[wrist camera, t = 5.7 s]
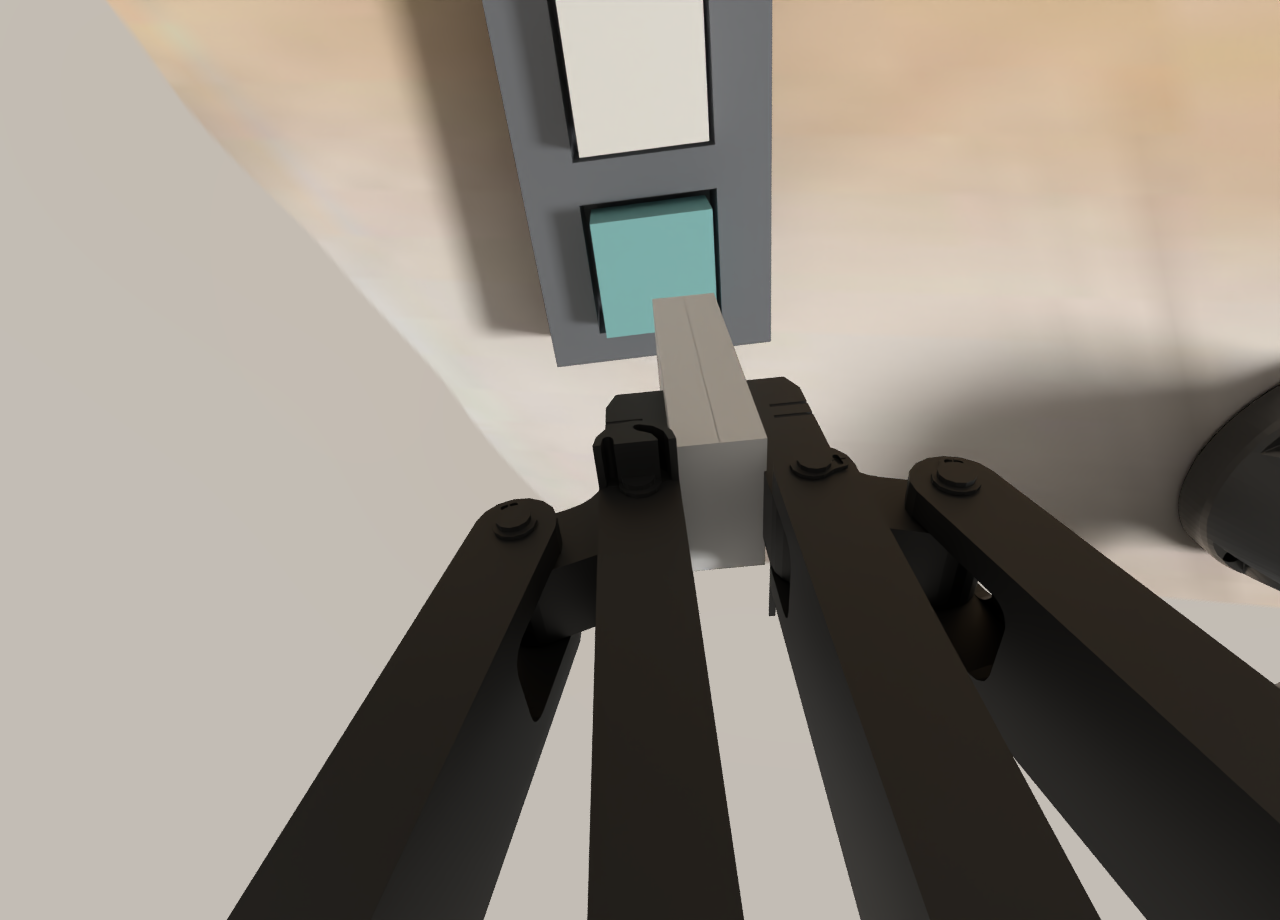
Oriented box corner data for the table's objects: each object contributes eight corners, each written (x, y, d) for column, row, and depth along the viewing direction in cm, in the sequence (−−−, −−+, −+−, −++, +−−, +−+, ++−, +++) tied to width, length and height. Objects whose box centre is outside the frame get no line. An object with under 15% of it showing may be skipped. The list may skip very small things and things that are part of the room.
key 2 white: (701, 131, 25) (709, 140, 23) (581, 146, 26) (579, 157, 24) (693, -19, 23) (701, -22, 21) (559, 0, 23) (555, -2, 21)
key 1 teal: (710, 304, 30) (717, 324, 28) (606, 316, 30) (606, 338, 28) (704, 194, 27) (712, 208, 25) (591, 209, 27) (589, 224, 25)
